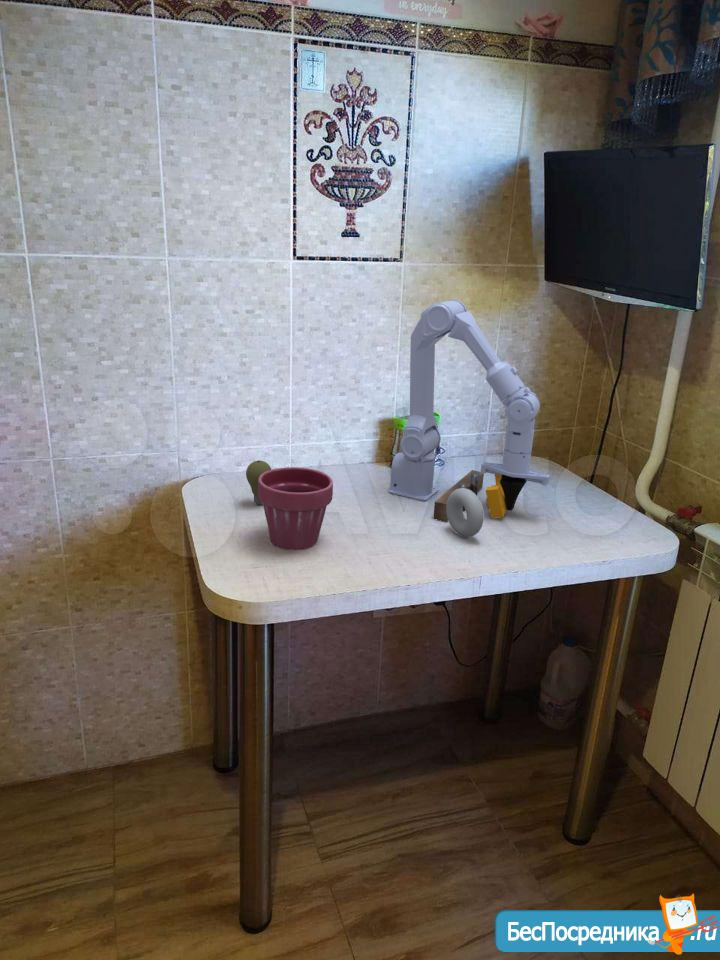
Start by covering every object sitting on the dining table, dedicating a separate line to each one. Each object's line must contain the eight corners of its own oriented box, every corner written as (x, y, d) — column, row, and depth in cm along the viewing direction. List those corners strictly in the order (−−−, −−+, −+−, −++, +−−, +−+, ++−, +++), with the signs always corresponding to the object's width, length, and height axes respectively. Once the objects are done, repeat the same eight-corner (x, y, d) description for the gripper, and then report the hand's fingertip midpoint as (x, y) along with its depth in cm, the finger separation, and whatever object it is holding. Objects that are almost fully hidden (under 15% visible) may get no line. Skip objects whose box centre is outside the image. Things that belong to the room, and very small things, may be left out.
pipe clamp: (494, 498, 164) (488, 472, 162) (512, 496, 162) (507, 469, 161) (483, 518, 154) (477, 491, 152) (503, 517, 152) (497, 489, 150)
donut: (440, 527, 148) (445, 482, 144) (453, 524, 150) (458, 480, 146) (471, 546, 140) (476, 499, 136) (484, 543, 142) (490, 496, 138)
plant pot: (345, 540, 140) (348, 479, 135) (295, 564, 129) (296, 498, 125) (294, 519, 148) (295, 461, 144) (242, 539, 138) (241, 477, 133)
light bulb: (244, 500, 156) (243, 457, 153) (269, 498, 158) (269, 456, 155) (248, 510, 151) (248, 466, 148) (274, 508, 153) (274, 464, 150)
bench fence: (433, 518, 152) (435, 492, 150) (470, 485, 172) (472, 462, 170) (452, 523, 150) (454, 497, 148) (487, 489, 170) (490, 465, 168)
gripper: (556, 451, 152) (547, 510, 156) (490, 439, 158) (484, 496, 162) (548, 459, 146) (539, 520, 150) (480, 447, 152) (474, 506, 156)
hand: (510, 508), depth 156 cm, fingers closed
